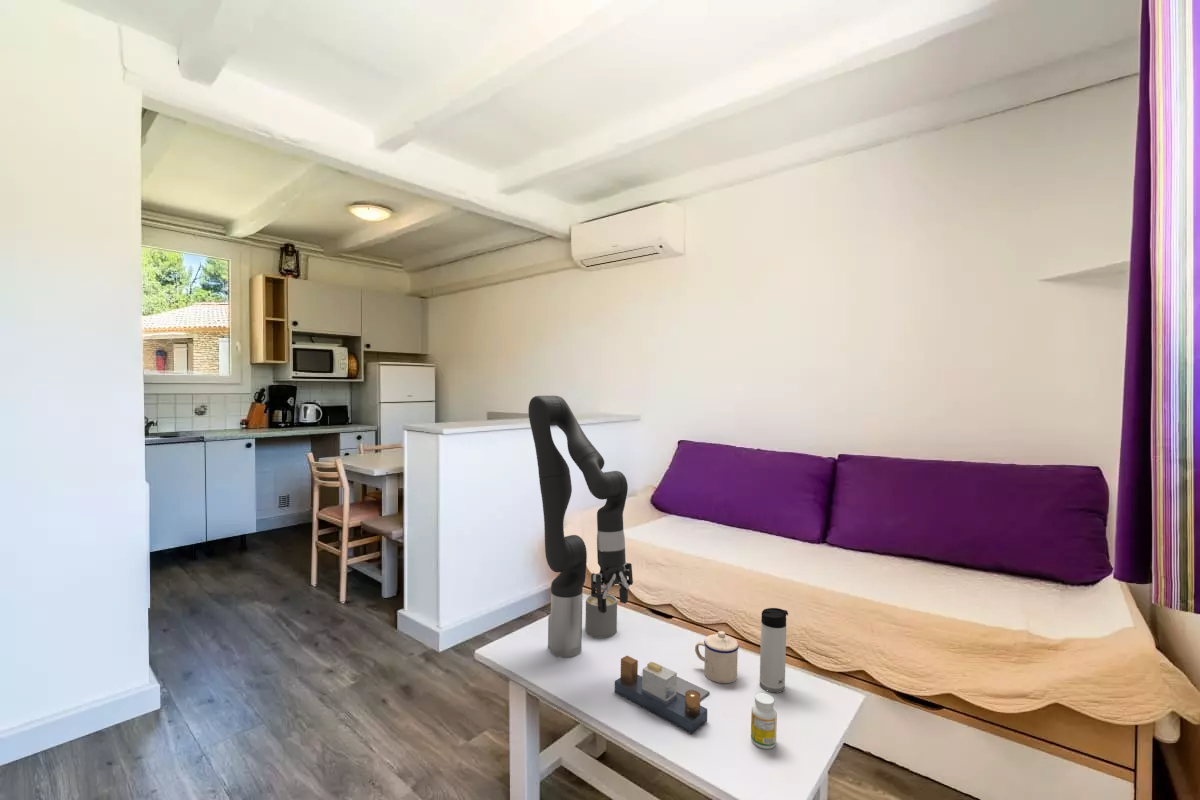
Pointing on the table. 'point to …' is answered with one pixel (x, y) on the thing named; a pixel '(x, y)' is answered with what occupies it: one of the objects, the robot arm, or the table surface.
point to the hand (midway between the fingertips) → (613, 607)
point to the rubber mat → (689, 688)
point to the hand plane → (673, 710)
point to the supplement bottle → (763, 721)
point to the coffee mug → (601, 617)
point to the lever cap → (659, 681)
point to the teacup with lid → (719, 657)
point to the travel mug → (773, 649)
